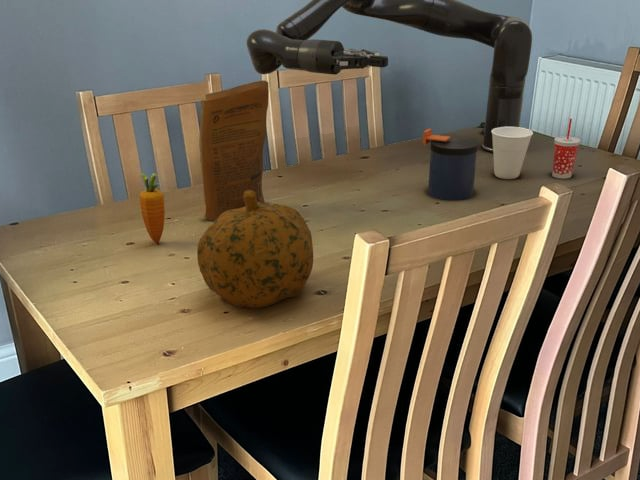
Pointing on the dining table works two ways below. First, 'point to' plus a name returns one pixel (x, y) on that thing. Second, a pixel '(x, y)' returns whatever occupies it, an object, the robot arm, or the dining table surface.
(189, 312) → the dining table surface
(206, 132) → the pancake mix bag
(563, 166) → the beverage cup
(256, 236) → the decorative pumpkin
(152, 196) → the carrot
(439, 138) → the slider
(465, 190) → the blue lidded canister
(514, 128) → the cup
